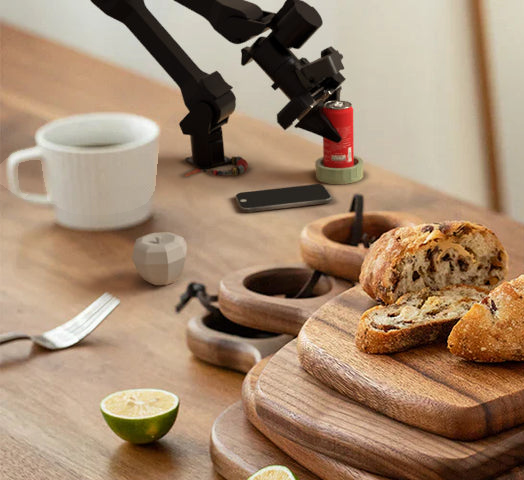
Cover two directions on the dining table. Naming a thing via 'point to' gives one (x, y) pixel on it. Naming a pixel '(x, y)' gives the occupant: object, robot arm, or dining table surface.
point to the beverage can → (343, 123)
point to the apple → (160, 257)
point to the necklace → (239, 169)
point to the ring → (339, 172)
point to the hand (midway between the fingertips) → (345, 136)
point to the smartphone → (283, 198)
